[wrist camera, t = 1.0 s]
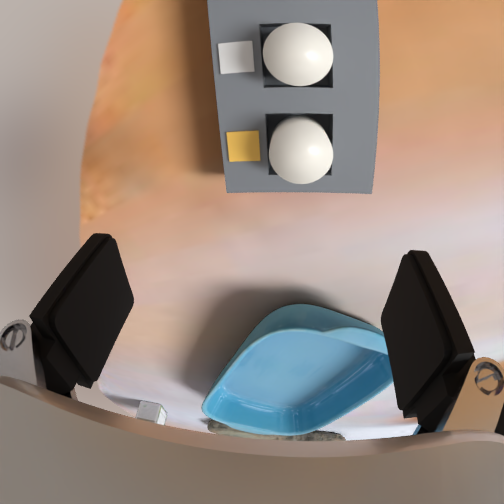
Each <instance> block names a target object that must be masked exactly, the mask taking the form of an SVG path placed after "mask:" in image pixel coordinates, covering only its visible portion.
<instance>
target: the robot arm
mask: <svg viewBox="0 0 504 504" xmlns="http://www.w3.org/2000/svg"><path fill="white" fill-rule="evenodd" d="M133 303H134V297H133V294H132V291H131V288H130V285H129V282H128V279H127V276H126V273H125V269H124V266H123V263H122V260H121V257H120V253H119V250H118V246H117V243H116V240H115V239H114V238H112V236H111V235H110V234H102V233H95V234H93V235H92V236H91V237H90V238H89V239H88V240H87V241H86V243H85V244H84V245H83V246H82V247H81V249H80V250H79V251H78V252H77V253H76V255H75V256H74V257H73V258H72V260H71V261H70V262H69V263H68V264H67V266H66V267H65V268H64V270H63V271H62V272H61V273H60V275H59V276H58V277H57V278H56V280H55V281H54V282H53V284H52V285H51V286H50V288H49V289H48V290H47V292H46V293H45V295H44V296H43V297H42V299H41V300H40V301H39V303H38V304H37V305H36V307H35V308H34V310H33V311H32V313H31V314H30V318H31V319H32V321H33V323H32V324H31V326H30V324H29V323H28V322H27V321H25V320H15V321H12V322H11V323H9V324H7V326H5V327H4V328H3V329H2V331H1V332H0V504H504V369H503V368H502V367H501V365H500V364H499V363H497V362H496V361H495V360H493V359H491V358H486V357H482V358H478V359H475V356H474V353H475V351H474V349H473V346H472V344H471V341H470V339H469V336H468V334H467V331H466V329H465V327H464V324H463V322H462V320H461V317H460V315H459V313H458V311H457V309H456V306H455V304H454V302H453V300H452V298H451V296H450V294H449V292H448V290H447V288H446V286H445V284H444V282H443V280H442V278H441V276H440V274H439V272H438V270H437V268H436V266H435V264H434V263H433V261H432V259H431V257H430V255H429V254H428V252H426V251H417V250H410V251H409V252H408V254H405V255H404V256H403V257H402V260H401V263H400V266H399V269H398V272H397V275H396V277H395V280H394V283H393V286H392V289H391V291H390V294H389V297H388V299H387V302H386V304H385V307H384V309H383V312H382V315H381V325H382V329H383V334H384V338H385V342H386V347H387V352H388V356H389V361H390V366H391V371H392V376H393V382H394V387H395V393H396V399H397V405H398V408H399V409H400V410H403V416H404V418H411V417H417V419H418V424H419V425H418V427H417V428H416V430H415V431H414V433H413V435H410V436H401V437H392V438H380V439H367V440H350V441H283V440H266V439H253V438H243V437H233V436H225V435H218V434H210V433H204V432H198V431H192V430H186V429H181V428H176V427H171V426H166V425H161V424H157V423H152V422H148V421H144V420H140V419H136V418H132V417H128V416H124V415H121V414H117V413H114V412H110V411H107V410H104V409H101V408H97V407H94V406H91V405H88V404H85V403H82V402H79V401H78V399H77V396H76V392H75V389H74V387H75V385H76V382H77V384H78V385H81V386H84V387H87V388H90V389H91V387H92V384H93V382H94V381H97V380H98V378H99V376H100V374H101V372H102V369H103V367H104V365H105V363H106V361H107V358H108V356H109V354H110V352H111V350H112V348H113V346H114V343H115V341H116V339H117V337H118V335H119V333H120V331H121V329H122V327H123V325H124V323H125V321H126V319H127V317H128V315H129V313H130V311H131V309H132V307H133Z"/></svg>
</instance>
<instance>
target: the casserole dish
mask: <svg viewBox="0 0 504 504" xmlns="http://www.w3.org/2000/svg"><path fill="white" fill-rule="evenodd" d="M392 383H393V376H392V371H391V366H390V361H389V356H388V352H387V347H386V342H385V338H384V334H383V331H381V330H380V329H378V328H376V327H374V326H372V325H370V324H367V323H365V322H362V321H359V320H357V319H354V318H351V317H349V316H346V315H343V314H340V313H337V312H335V311H332V310H329V309H326V308H322V307H318V306H314V305H309V304H293V305H288V306H284V307H281V308H279V309H277V310H275V311H273V312H272V313H270V314H269V315H268V316H266V317H265V318H264V319H263V320H262V321H261V322H260V323H259V324H258V325H257V326H256V327H255V328H254V330H253V331H252V332H251V333H250V335H249V336H248V337H247V338H246V340H245V341H244V342H243V344H242V345H241V346H240V348H239V349H238V351H237V352H236V353H235V355H234V356H233V357H232V359H231V360H230V361H229V363H228V364H227V365H226V367H225V368H224V369H223V371H222V372H221V374H220V375H219V377H218V378H217V380H216V381H215V383H214V384H213V386H212V388H211V390H210V391H209V393H208V395H207V396H206V398H205V400H204V402H203V404H202V411H203V413H204V414H205V415H206V416H207V417H209V418H211V419H213V420H215V421H218V422H221V423H224V424H226V425H228V426H229V427H231V428H234V429H237V430H241V431H245V432H250V433H255V434H263V435H285V436H292V435H301V434H306V433H310V432H313V431H315V430H318V429H320V428H322V427H324V426H326V425H328V424H330V423H332V422H334V421H335V420H337V419H339V418H341V417H342V416H344V415H346V414H348V413H349V412H351V411H353V410H354V409H356V408H357V407H359V406H361V405H362V404H364V403H365V402H367V401H369V400H370V399H372V398H373V397H375V396H376V395H378V394H379V393H380V392H382V391H383V390H385V389H386V388H387V387H389V386H390V385H391V384H392Z"/></svg>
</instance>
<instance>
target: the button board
mask: <svg viewBox="0 0 504 504" xmlns="http://www.w3.org/2000/svg"><path fill="white" fill-rule="evenodd" d="M207 4H208V15H209V27H210V38H211V49H212V59H213V70H214V80H215V90H216V100H217V110H218V119H219V129H220V138H221V147H222V156H223V165H224V174H225V182H226V191H227V193H243V192H325V193H360V194H372V187H373V178H374V169H375V158H376V146H377V133H378V115H379V86H380V51H379V23H378V7H377V0H207ZM288 23H304V24H308V25H311V26H313V27H315V28H317V29H319V30H320V31H321V32H322V33H323V34H324V35H325V36H326V37H327V38H328V40H329V42H330V44H331V46H332V49H333V63H332V66H331V68H330V70H329V72H328V73H327V74H326V76H325V77H324V78H322V79H321V80H320V81H318V82H316V83H314V84H311V85H307V86H293V85H289V84H286V83H284V82H281V81H280V80H278V79H277V78H275V77H274V76H273V75H272V74H271V73H270V72H269V70H268V69H267V67H266V65H265V62H264V59H263V47H264V43H265V41H266V39H267V37H268V36H269V35H270V33H271V32H272V31H274V30H275V29H276V28H278V27H280V26H282V25H285V24H288ZM292 115H305V116H309V117H311V118H313V119H315V120H316V121H317V122H319V123H320V124H321V126H322V127H323V128H324V130H325V132H326V134H327V136H328V138H329V141H330V143H331V145H332V149H333V160H332V164H331V166H330V168H329V170H328V171H327V173H326V174H325V175H324V176H323V177H321V178H320V179H318V180H317V181H314V182H312V183H308V184H295V183H291V182H288V181H286V180H284V179H283V178H281V177H280V176H279V175H278V174H277V173H276V172H275V171H274V169H273V167H272V166H271V163H270V160H269V148H270V143H271V138H272V133H273V131H274V129H275V127H276V125H277V124H278V123H279V122H280V121H281V120H283V119H284V118H287V117H289V116H292Z"/></svg>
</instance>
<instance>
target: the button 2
mask: <svg viewBox="0 0 504 504" xmlns="http://www.w3.org/2000/svg"><path fill="white" fill-rule="evenodd" d="M269 160H270V163H271V166H272V167H273V169H274V171H275V172H276V173H277V174H278V175H279V176H280V177H281V178H283V179H284V180H286V181H288V182H291V183H295V184H308V183H312V182H314V181H317V180H318V179H320V178H321V177H323V176H324V175H325V174H326V173H327V171H328V170H329V168H330V166H331V164H332V160H333V149H332V145H331V143H330V141H329V138H328V136H327V134H326V132H325V130H324V128H323V127H322V126H321V124H320V123H319V122H317V121H316V120H315V119H313V118H311V117H309V116H305V115H292V116H289V117H287V118H284V119H283V120H281V121H280V122H279V123H278V124H277V125H276V127H275V129H274V131H273V133H272V138H271V143H270V148H269Z"/></svg>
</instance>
